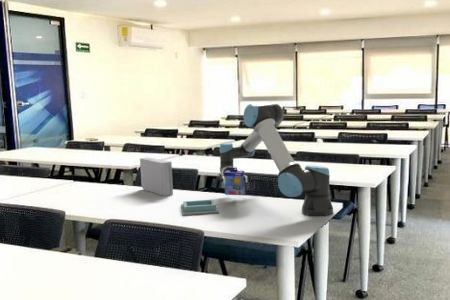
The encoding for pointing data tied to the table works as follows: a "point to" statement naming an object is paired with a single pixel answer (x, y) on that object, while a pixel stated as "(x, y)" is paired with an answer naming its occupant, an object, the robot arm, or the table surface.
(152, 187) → the game console
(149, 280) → the table surface
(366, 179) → the table surface
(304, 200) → the robot arm
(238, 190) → the ink cartridge box
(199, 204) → the cradle
